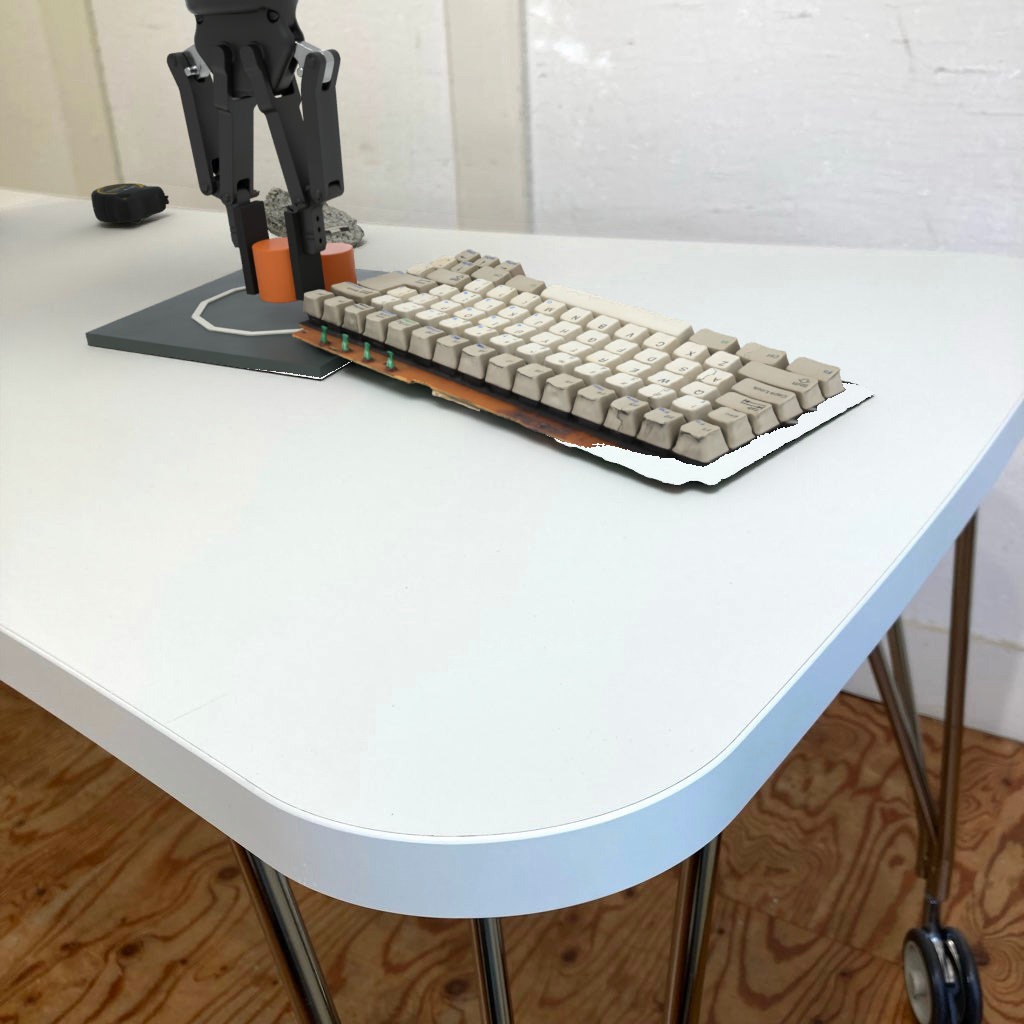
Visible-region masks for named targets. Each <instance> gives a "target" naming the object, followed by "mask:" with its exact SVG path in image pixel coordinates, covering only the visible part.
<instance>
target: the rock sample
mask: <svg viewBox="0 0 1024 1024" xmlns="http://www.w3.org/2000/svg"><path fill="white" fill-rule="evenodd" d="M280 187H281V188H280ZM280 187H276V186H275V187H274V186H273V187H271V189H270V190H269V191H268V193H267V194H266V195H265V198H264V200H263V201H264V207H265V213H266V220H267V227H268V232H269V233H270V234H272V235H274V236H275V237H276V238H279V237H287V232H286V225H285V218H284V211H287V209H286V206H288V205H290V204H292V203H291V199H290V196H289V193H288V191H286V190H284V189H282V187H283V186H282V185H280ZM323 218H324V226H325V233H326V235H325V236H326V241H327V243H346V244H350V245H352V246H353V247H354V246H356V244H357V243H358V242H360V241H361V240H362V239H363V238H364V237H365V231H364V229H363V228H362V226H360V225H358V220H357V219H356V218H354V217H352V216H351V215H349V214H347V212H346V211H344V210H342V209H341V210H340V209H339V208H337V207H334V206H331V205H329V204H328V203H327V202H325V203H324V205H323ZM362 223H363V222H361V224H362Z"/></svg>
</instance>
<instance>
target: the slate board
mask: <svg viewBox="0 0 1024 1024" xmlns="http://www.w3.org/2000/svg"><path fill="white" fill-rule="evenodd" d="M391 272H392V271H383V270H382V271H381V270H373V269H372V270H371V269H363V268H362V269H361V268H356V276H357V284H358V282H359V281H362V280H366V279H369V278H373V277H377V276H380V275H383V274H388V273H391ZM303 305H304V301H302V300H299V301H295V302H288V303H270V302H265V301H263V300H261V298H260V294H259V293H258V294H256V295H250V294H247V292H246V286H245V280H244V274H243V268H240V269H238V270H236V271H233V272H231V273H228V274H226V275H224V276H221V277H219V278H216V279H214V280H212V281H209V282H207V283H204V284H202V285H199V286H197V287H195V288H192V289H189V290H187V291H184V292H182V293H180V294H177V295H175V296H172V297H170V298H167V299H164V300H162V301H160V302H157V303H154V304H152V305H150V306H148V307H145V308H143V309H140V310H138V311H135V312H133V313H131V314H128V315H126V316H124V317H121V318H118V319H116V320H114V321H111V322H108V323H107V324H103V325H102V326H101V325H100V326H98V327H96V328H94V329H91V330H89V331H86V332H85V339H86V343H87V345H88V346H91V347H99V348H105V349H111V350H119V351H124V352H125V351H126V352H133V353H137V354H138V353H140V354H144V353H145V354H144V355H151V354H155V355H154V356H157V355H161V356H160V357H164V356H168V357H167V358H170V357H174V358H173V359H177V358H180V359H179V360H184V359H188V360H187V361H190V360H194V361H193V362H197V361H199V362H198V363H203V362H206V363H205V364H210V363H212V365H216V364H219V365H218V366H223V365H227V366H226V367H229V366H234V367H233V368H236V367H239V368H238V369H243V368H249V369H258V370H259V369H260V370H267V371H276V372H285V373H286V372H287V373H293V374H298V375H299V374H300V375H306V376H312V377H313V376H314V377H319V378H321V377H323V376H325V375H327V374H328V373H330V372H332V371H335V370H336V369H338V368H340V367H342V366H343V365H345V364H347V363H348V362H351V361H350V360H348V359H345V358H343V357H340V356H338V355H335V354H333V353H330V352H329V351H326V350H323V349H321V348H319V347H315V346H313V345H311V344H309V343H306V342H304V341H302V340H299V339H297V338H293V336H292V334H293V333H295V332H297V331H300V330H302V329H303V328H301V327H300V326H299V323H300V322H302V321H306V320H309V317H308V314H307V313H304V312H303ZM334 351H336V350H334ZM175 357H176V358H175ZM181 358H182V359H181ZM213 363H214V364H213ZM240 367H241V368H240ZM249 369H248V370H249Z"/></svg>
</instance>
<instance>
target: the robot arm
mask: <svg viewBox="0 0 1024 1024" xmlns="http://www.w3.org/2000/svg"><path fill="white" fill-rule="evenodd" d="M184 2H185V7H186V9H187V11H188V12H189V13H190V14H192V15H193V16H194V18H195V30H194V31H195V32H194V36H193V44H192V45H191V46H189V47H187V48H186V49H184V50H182V51H176V52H171V53H168V55H167V56H166V64H167V67H168V69H169V71H170V73H171V75H172V78H173V80H174V82H175V84H176V86H177V88H178V91H179V97H180V101H181V105H182V111H183V115H184V120H185V125H186V129H187V130H186V131H187V134H188V140H189V145H190V149H191V152H192V153H191V154H192V159H193V164H194V168H195V172H196V177H197V182H198V187H199V191H200V192H201V193H202V195H204V196H205V197H208V196H209V197H210V196H212V197H215V198H216V199H219V200H220V201H221V203H222V204H223V205H224V206H225V209H226V216H227V220H228V226H229V232H230V239H231V242H232V244H233V247H234V248H237V249H239V256H240V261H241V269H243V274H244V280H245V286H246V292H247V294H250V295H256V294H258V293H259V288H258V281H257V275H256V269H255V263H254V256H253V250H252V246H253V244H255V243H257V242H259V241H262V240H266V239H270V235H269V233H270V232H269V230H268V227H267V220H266V213H265V207H264V201H265V200H258V199H257V200H256V199H255V198H257V197H259V195H260V194H261V193H260V192H261V190H257V189H254V188H255V187H254V181H255V179H254V177H255V176H254V175H255V174H254V172H255V169H254V166H255V165H254V162H255V159H254V158H255V156H254V155H255V153H254V152H255V145H254V144H255V142H254V141H255V138H254V137H255V135H254V134H255V132H254V130H255V126H254V125H255V118H254V117H255V108H256V106H257V108H258V111H260V113H262V114H264V116H265V120H266V122H267V126H268V129H269V132H270V135H271V139H272V142H273V145H274V146H273V147H274V149H275V152H276V155H277V159H278V162H279V165H280V170H281V173H282V176H283V179H284V183H285V186H286V190H287V192H288V193H289V196H290V199H291V203H292V204H290V205H288V206H286V209H287V211H284V218H285V225H286V232H287V239H288V246H289V253H290V260H291V266H292V273H293V280H294V287H295V294H296V300H302V301H304V293H306V292H311V291H315V290H325V283H324V275H323V267H322V260H321V251H323V250H325V249H326V244H327V241H326V236H325V235H326V233H325V226H324V218H323V205H324V203H325V202H326V203H327V202H329V201H332V200H334V199H336V198H338V197H342V196H343V194H344V192H345V181H344V169H343V159H342V157H343V156H342V145H341V135H340V133H341V132H340V122H339V111H338V99H337V87H336V86H337V82H338V77H339V72H340V68H341V67H340V66H341V60H342V59H341V55H340V53H339V51H337V50H336V49H333V48H330V49H321V48H319V47H317V46H315V45H313V44H311V43H309V42H308V41H306V38H305V35H304V32H303V30H302V29H301V27H300V25H299V22H298V19H297V8H298V5H299V2H300V0H184ZM211 74H212V75H211ZM296 74H297V76H298V77H299V78H301V81H300V88H299V85H298V82H297V81H298V80H297V78H296ZM300 105H301V106H300ZM301 109H302V111H301ZM252 199H255V200H252ZM251 200H252V201H251ZM325 291H326V290H325Z"/></svg>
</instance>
